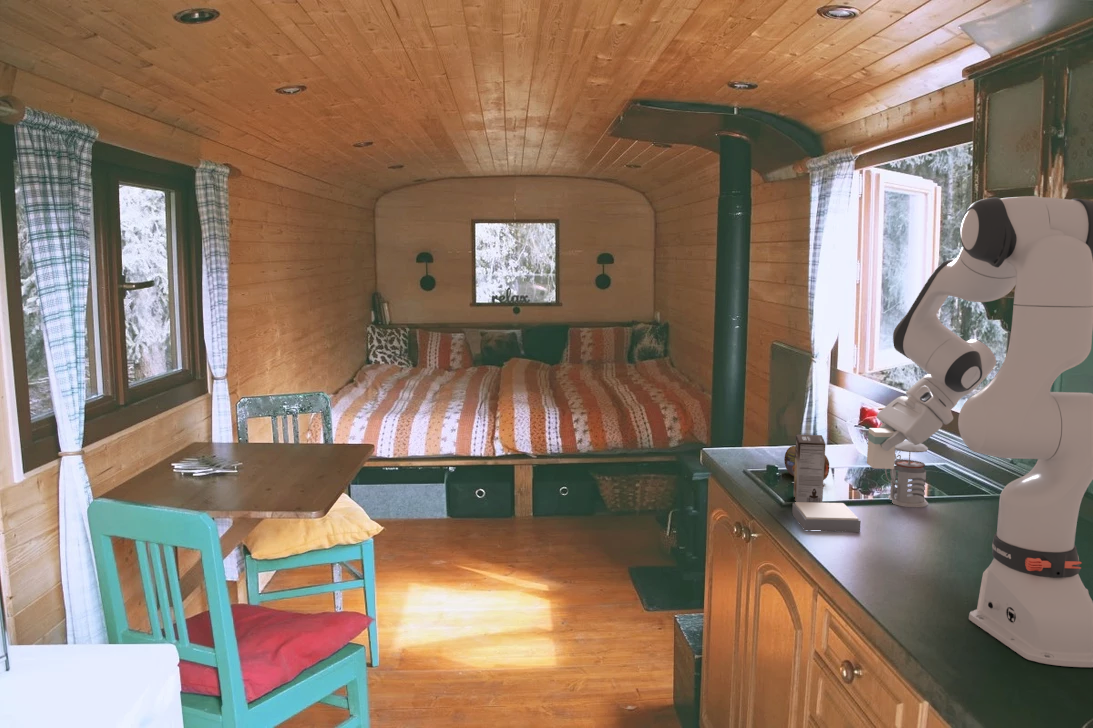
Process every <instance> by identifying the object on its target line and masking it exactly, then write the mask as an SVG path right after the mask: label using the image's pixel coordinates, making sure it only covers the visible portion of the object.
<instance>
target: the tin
mask: <svg viewBox="0 0 1093 728" xmlns="http://www.w3.org/2000/svg"><path fill="white" fill-rule="evenodd" d="M795 448H796V445H792V446H790V447H788V448H787V449H786V452H785V453H784V466H785V469H786V471H787V472H788V474H790V475H791V476H793V477H794V471H795ZM829 473H830V462H829V459H828V457H827V455H826V454H825V463H824V480H827V477H828V476H829ZM824 480H823V481H824Z"/></svg>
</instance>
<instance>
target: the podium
mask: <svg viewBox="0 0 1093 728" xmlns="http://www.w3.org/2000/svg"><path fill="white" fill-rule="evenodd" d="M791 515H792V516H793V517H794V519H795V520H796V521H797V522H798V524H799V523H800V524H799V525H800V527H801V528H802V527H803V528H804V529H803V528H802V529H803V531H804V530H821V531H820V532H833V531H840V533H861V524H862V523H861V521H862V520H860V518H859V517H858V516H857V515H856V514H855V513H854V512H853V511H852V510H851V509H850V508H849V507H848V506H847V505H846V503H844V502H822V503H815V502H795V501H794V502H793V503H792V511H791ZM842 531H843V532H842Z"/></svg>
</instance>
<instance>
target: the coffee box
mask: <svg viewBox="0 0 1093 728" xmlns="http://www.w3.org/2000/svg"><path fill="white" fill-rule="evenodd" d="M795 446H796V448H795V471H794V476H793V498H794V497H795V499H794V502H795V501H796V502H815V503H823V498H824V497H823V496H824V463H825V455H826V442H825V440H824V437H823V435H820V434H818V435H817V434H795Z"/></svg>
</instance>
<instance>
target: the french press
mask: <svg viewBox="0 0 1093 728" xmlns="http://www.w3.org/2000/svg"><path fill="white" fill-rule="evenodd" d="M928 450H929V447H928V446H926V445H925V444H924V443H920V444H918V445H914V444H913V443H911V442H910V441H908V440H904V441H903V442H902V443H900V444H897V445H895V451H900V452H904V453H909V455H908V459H905V458H904V459H901V458H902V456H901V454H898V455H897V456H896V453H895V461H894V469H889V470H890V471H889V472H890V474H889V475H890V478H891V479H889V478H888V477H889V476H888V474H887V469H884V473H885V477H886V479H887V480H888V481H889V482H890V494H889V495H888V496H887V497H888V498H889V499H890V500H892V503H893V505H897V506H900V507H907V508H923V507H927V506H928V505H929V502H928V501H927V500H926V499H925V495H926V492H925V491H926V487H925V486H926V480H927V470H926V469H925V468H924V467H925V466H926V464H925V463H924V462H922V461H918V460H914V459H913V460H912V459H911V453H924V452H925V453H926V452H927V451H928ZM898 457H899V458H898ZM909 480H910V481H909ZM909 485H910V486H909ZM896 486H897V487H896ZM908 490H909V491H908ZM892 503H891V504H892Z"/></svg>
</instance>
